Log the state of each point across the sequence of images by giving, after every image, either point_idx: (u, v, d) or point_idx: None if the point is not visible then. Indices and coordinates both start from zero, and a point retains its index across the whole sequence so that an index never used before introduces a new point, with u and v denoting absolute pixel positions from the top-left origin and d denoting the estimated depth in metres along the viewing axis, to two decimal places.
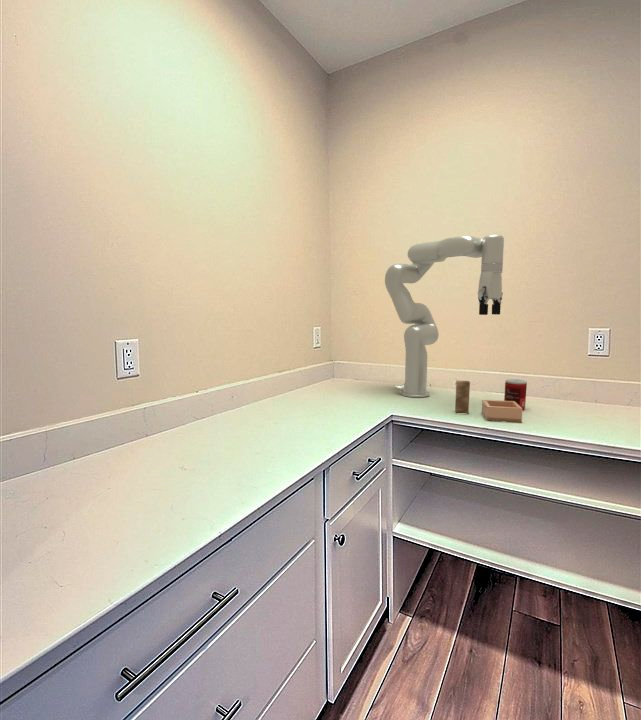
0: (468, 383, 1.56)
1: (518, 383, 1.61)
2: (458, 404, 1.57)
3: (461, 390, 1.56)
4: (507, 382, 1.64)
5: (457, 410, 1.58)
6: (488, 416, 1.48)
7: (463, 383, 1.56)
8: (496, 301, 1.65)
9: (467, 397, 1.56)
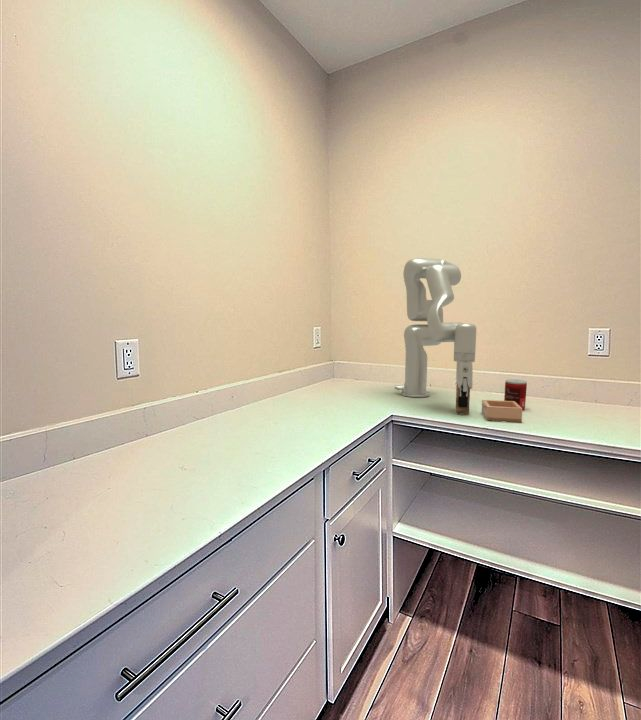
0: None
1: (518, 383, 1.61)
2: None
3: (461, 390, 1.56)
4: (507, 382, 1.64)
5: (457, 410, 1.57)
6: (488, 416, 1.48)
7: None
8: None
9: None
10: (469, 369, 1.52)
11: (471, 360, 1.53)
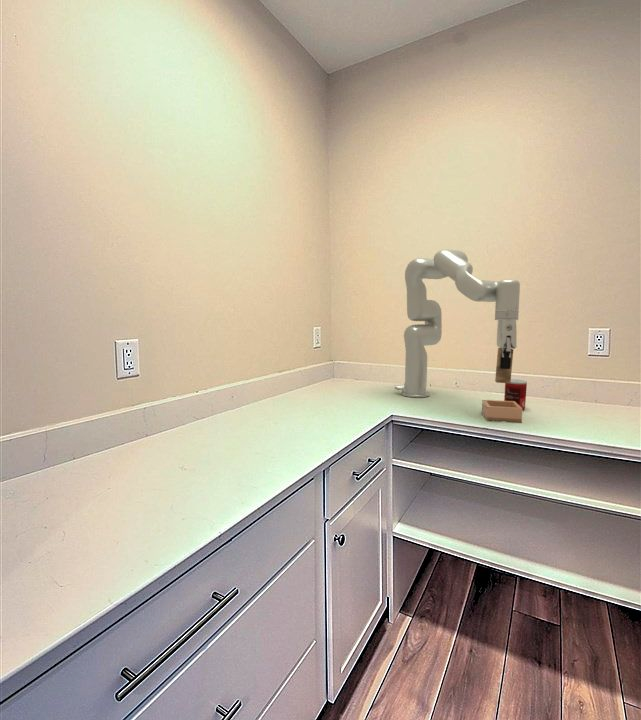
0: (511, 350, 1.47)
1: (518, 383, 1.61)
2: (499, 372, 1.49)
3: None
4: None
5: (498, 379, 1.49)
6: (488, 416, 1.48)
7: None
8: None
9: (510, 365, 1.48)
10: (513, 327, 1.43)
11: (515, 318, 1.44)
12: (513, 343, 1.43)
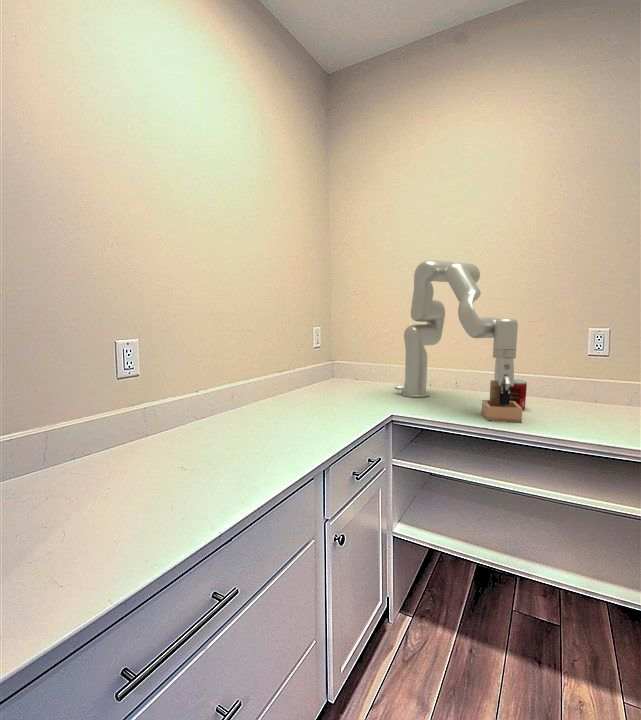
0: None
1: (518, 383, 1.61)
2: (493, 404, 1.51)
3: (496, 391, 1.50)
4: None
5: None
6: (488, 416, 1.48)
7: None
8: None
9: None
10: (510, 366, 1.45)
11: (512, 357, 1.46)
12: (510, 382, 1.45)
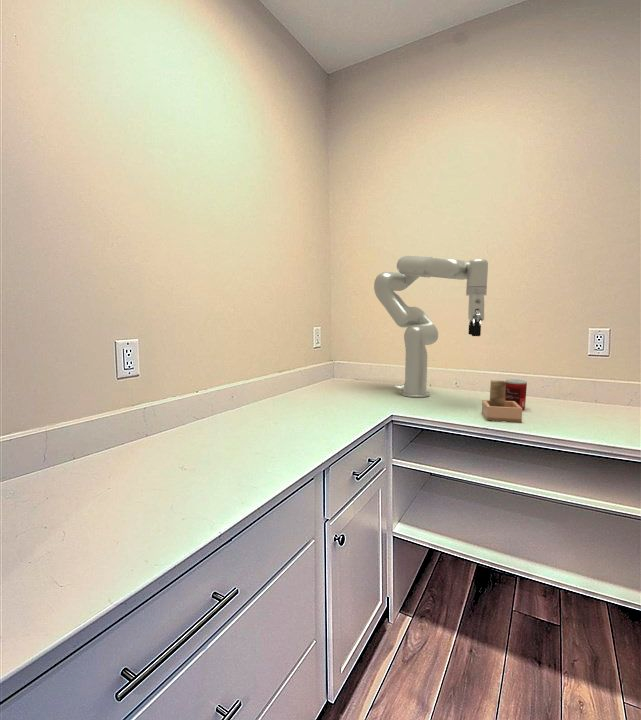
0: (504, 383, 1.49)
1: (518, 383, 1.61)
2: (493, 404, 1.51)
3: (496, 391, 1.50)
4: (507, 382, 1.64)
5: None
6: (488, 416, 1.48)
7: (499, 383, 1.49)
8: None
9: (503, 398, 1.50)
10: (481, 301, 1.61)
11: (483, 293, 1.62)
12: (481, 315, 1.62)
